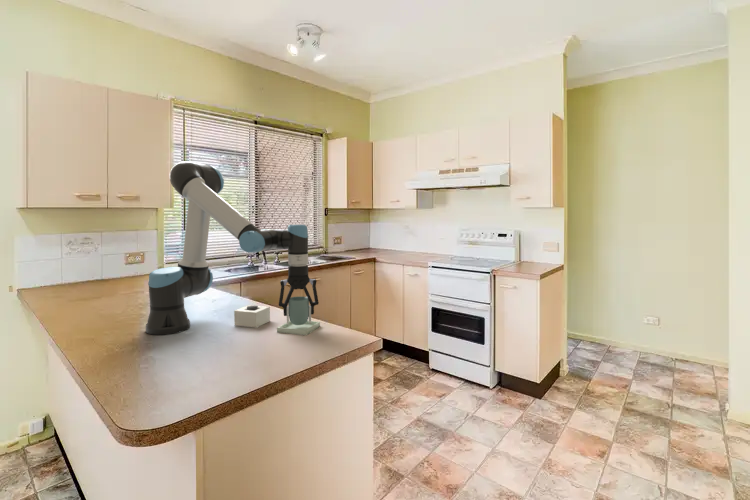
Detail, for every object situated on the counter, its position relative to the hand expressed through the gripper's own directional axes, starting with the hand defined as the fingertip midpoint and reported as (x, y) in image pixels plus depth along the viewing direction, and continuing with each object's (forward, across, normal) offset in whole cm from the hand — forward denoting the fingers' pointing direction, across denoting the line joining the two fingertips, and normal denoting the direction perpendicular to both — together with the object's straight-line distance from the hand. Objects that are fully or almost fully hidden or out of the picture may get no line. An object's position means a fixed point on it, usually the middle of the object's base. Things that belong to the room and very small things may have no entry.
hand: (298, 323), depth 152 cm
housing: (+2, -18, +13) cm, 22 cm away
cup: (0, 0, 0) cm, 0 cm away
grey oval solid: (+2, -18, +13) cm, 22 cm away
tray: (+2, 0, 0) cm, 2 cm away
